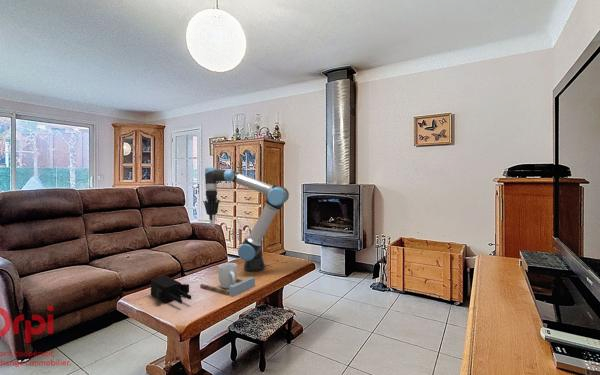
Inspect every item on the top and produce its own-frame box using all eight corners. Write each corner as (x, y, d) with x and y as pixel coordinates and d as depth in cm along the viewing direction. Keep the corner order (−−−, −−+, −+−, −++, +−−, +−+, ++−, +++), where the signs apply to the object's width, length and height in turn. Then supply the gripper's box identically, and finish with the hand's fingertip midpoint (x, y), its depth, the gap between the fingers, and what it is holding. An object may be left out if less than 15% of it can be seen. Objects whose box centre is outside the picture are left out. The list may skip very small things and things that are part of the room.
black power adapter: (201, 304, 156) (173, 289, 175) (201, 286, 155) (173, 273, 175) (170, 315, 143) (144, 297, 162) (170, 296, 143) (144, 281, 162)
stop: (229, 295, 164) (228, 286, 164) (251, 285, 180) (251, 277, 179) (233, 296, 162) (232, 287, 162) (254, 286, 178) (254, 277, 178)
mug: (243, 289, 173) (242, 267, 173) (225, 293, 167) (224, 270, 166) (233, 282, 185) (232, 261, 185) (216, 286, 179) (215, 264, 178)
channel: (200, 288, 176) (200, 284, 176) (224, 278, 192) (223, 275, 192) (228, 295, 164) (227, 291, 164) (250, 284, 180) (250, 281, 180)
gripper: (214, 189, 209) (215, 222, 209) (199, 190, 198) (201, 225, 198) (222, 189, 205) (223, 223, 206) (207, 190, 194) (208, 226, 194)
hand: (212, 224), depth 202 cm, fingers closed
